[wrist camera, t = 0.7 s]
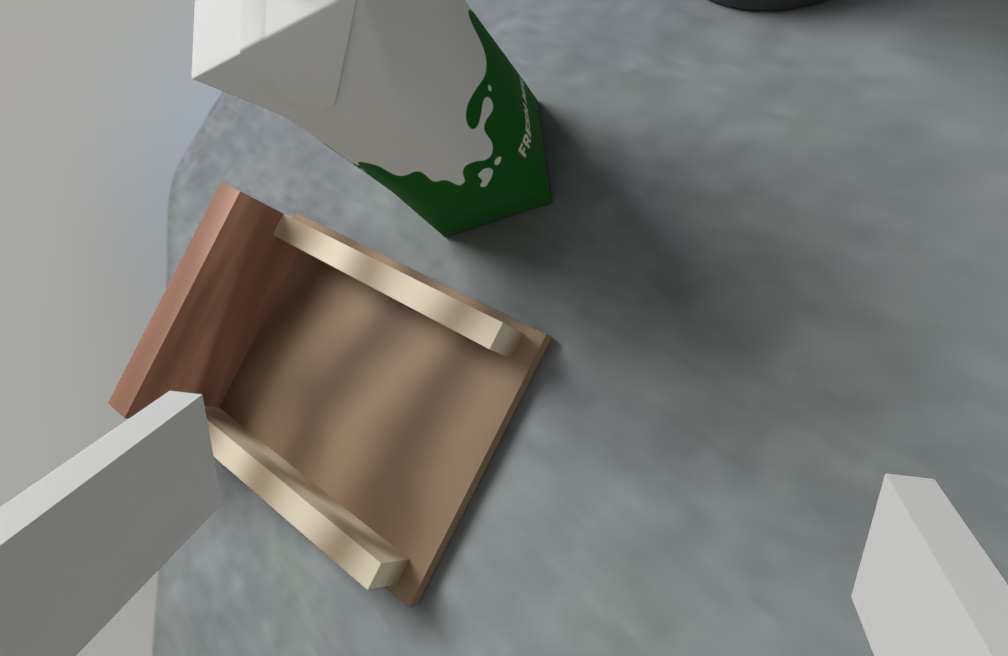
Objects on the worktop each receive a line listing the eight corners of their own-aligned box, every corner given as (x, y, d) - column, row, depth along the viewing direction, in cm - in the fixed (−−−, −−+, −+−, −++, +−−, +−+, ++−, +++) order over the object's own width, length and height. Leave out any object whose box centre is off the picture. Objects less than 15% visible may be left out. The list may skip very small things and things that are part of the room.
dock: (552, 337, 35) (495, 304, 29) (417, 604, 35) (332, 626, 29) (303, 216, 45) (224, 174, 40) (199, 421, 45) (104, 410, 39)
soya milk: (569, 212, 36) (330, -52, 19) (431, 255, 40) (122, 67, 22) (549, 81, 39) (322, -257, 22) (421, 132, 42) (137, -122, 25)
